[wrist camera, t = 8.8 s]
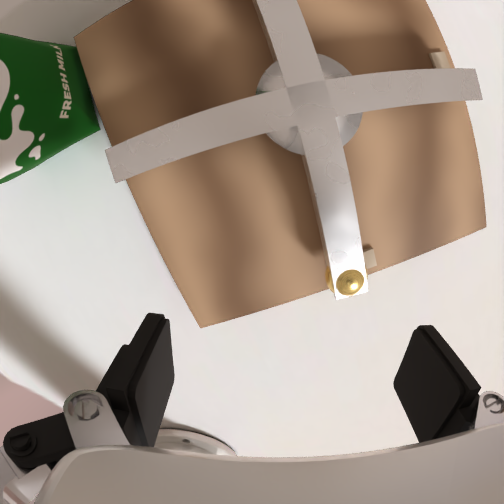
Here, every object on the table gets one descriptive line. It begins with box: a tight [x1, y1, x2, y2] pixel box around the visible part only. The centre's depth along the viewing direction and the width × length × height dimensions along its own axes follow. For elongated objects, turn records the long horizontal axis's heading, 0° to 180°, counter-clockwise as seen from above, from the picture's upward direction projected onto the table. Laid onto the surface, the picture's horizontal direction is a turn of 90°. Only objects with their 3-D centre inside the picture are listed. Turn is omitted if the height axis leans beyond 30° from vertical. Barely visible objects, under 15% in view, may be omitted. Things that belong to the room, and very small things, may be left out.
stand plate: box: [74, 0, 486, 328], centre depth 16 cm, size 22×22×2 cm
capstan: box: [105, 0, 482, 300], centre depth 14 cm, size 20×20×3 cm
